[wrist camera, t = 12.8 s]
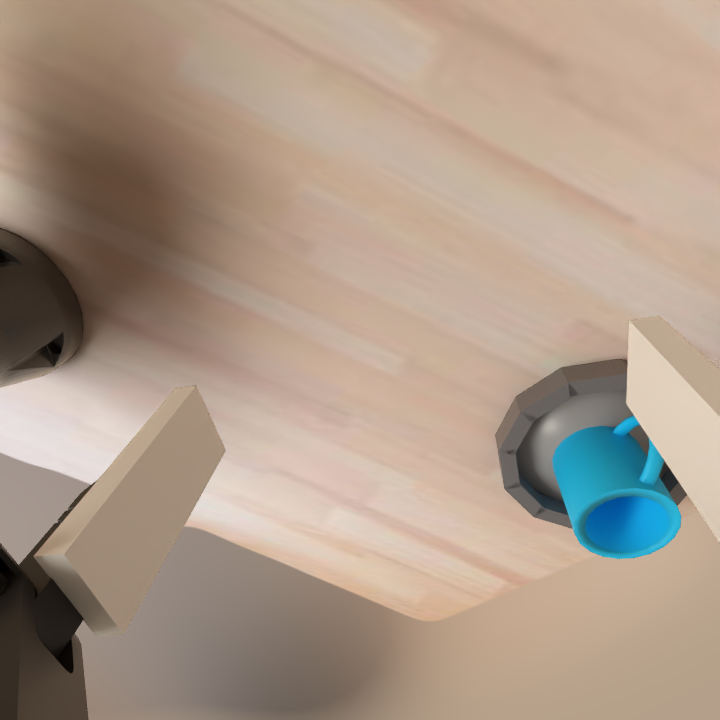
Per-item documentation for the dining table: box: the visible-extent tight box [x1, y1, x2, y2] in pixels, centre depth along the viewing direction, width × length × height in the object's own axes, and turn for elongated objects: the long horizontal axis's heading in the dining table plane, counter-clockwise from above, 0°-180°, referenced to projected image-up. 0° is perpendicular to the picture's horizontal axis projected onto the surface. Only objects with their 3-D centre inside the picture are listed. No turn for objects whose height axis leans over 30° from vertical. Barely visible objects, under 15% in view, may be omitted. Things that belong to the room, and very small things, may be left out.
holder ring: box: [496, 359, 687, 529], centre depth 45 cm, size 18×18×2 cm
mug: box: [552, 415, 681, 559], centre depth 42 cm, size 12×8×8 cm
